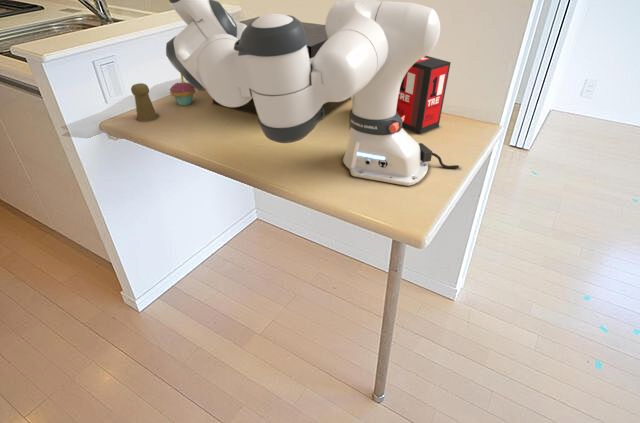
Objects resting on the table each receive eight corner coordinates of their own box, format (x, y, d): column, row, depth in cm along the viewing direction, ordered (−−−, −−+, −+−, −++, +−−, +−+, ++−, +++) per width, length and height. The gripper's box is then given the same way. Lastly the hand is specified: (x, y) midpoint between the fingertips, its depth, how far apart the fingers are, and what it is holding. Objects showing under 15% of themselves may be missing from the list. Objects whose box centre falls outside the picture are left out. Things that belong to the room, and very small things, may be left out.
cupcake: (178, 98, 148) (171, 64, 141) (200, 99, 147) (195, 65, 140) (169, 107, 141) (161, 72, 134) (192, 107, 140) (186, 73, 133)
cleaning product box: (438, 126, 128) (450, 62, 116) (420, 134, 123) (431, 67, 112) (399, 111, 138) (407, 50, 127) (381, 117, 134) (387, 55, 122)
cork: (150, 121, 130) (142, 88, 124) (133, 120, 131) (124, 86, 125) (160, 114, 135) (152, 82, 129) (144, 113, 136) (135, 80, 130)
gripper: (185, 37, 113) (214, 64, 126) (242, 47, 105) (267, 75, 117) (194, 17, 114) (222, 46, 126) (251, 25, 105) (275, 55, 118)
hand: (244, 60), depth 122 cm, fingers closed, pressing on oven door
